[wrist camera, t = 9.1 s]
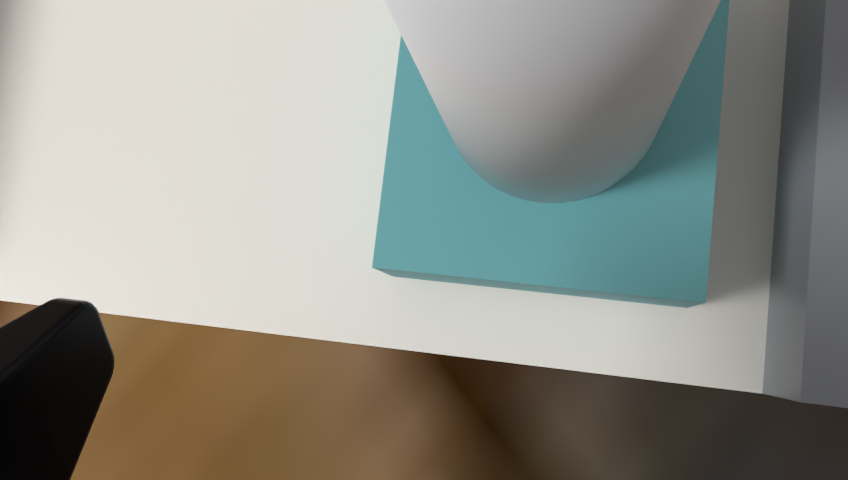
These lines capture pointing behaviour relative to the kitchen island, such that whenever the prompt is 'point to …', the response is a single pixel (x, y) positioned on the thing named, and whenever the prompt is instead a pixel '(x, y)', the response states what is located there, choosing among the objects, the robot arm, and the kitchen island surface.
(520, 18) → the carriage
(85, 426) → the robot arm
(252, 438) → the kitchen island surface
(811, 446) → the kitchen island surface
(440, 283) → the rail
